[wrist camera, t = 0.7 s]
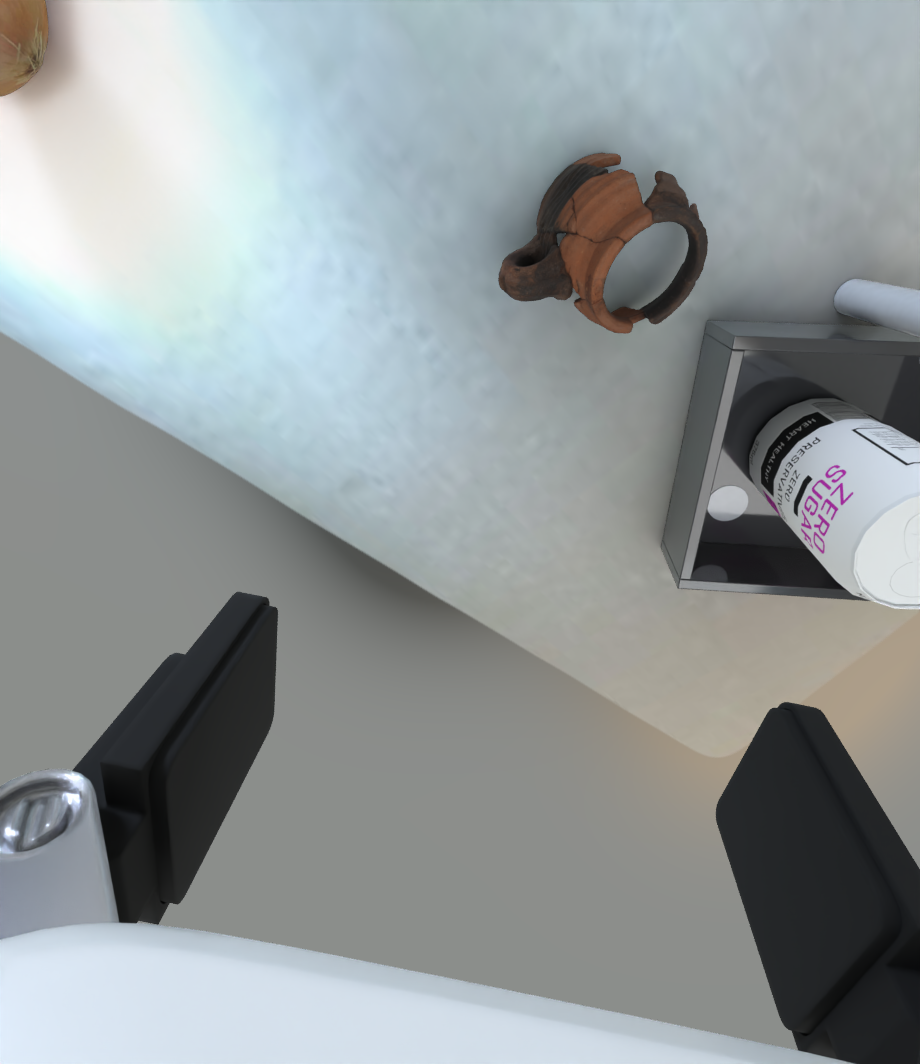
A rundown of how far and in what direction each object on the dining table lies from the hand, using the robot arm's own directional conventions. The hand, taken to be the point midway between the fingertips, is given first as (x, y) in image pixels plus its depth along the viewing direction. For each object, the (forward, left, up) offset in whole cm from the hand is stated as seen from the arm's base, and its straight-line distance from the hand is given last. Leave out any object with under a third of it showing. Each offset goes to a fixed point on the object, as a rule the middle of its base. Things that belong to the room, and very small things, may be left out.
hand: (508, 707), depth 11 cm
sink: (+5, +21, -35) cm, 41 cm away
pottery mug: (-6, +4, -35) cm, 36 cm away
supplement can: (+7, +21, -35) cm, 42 cm away
